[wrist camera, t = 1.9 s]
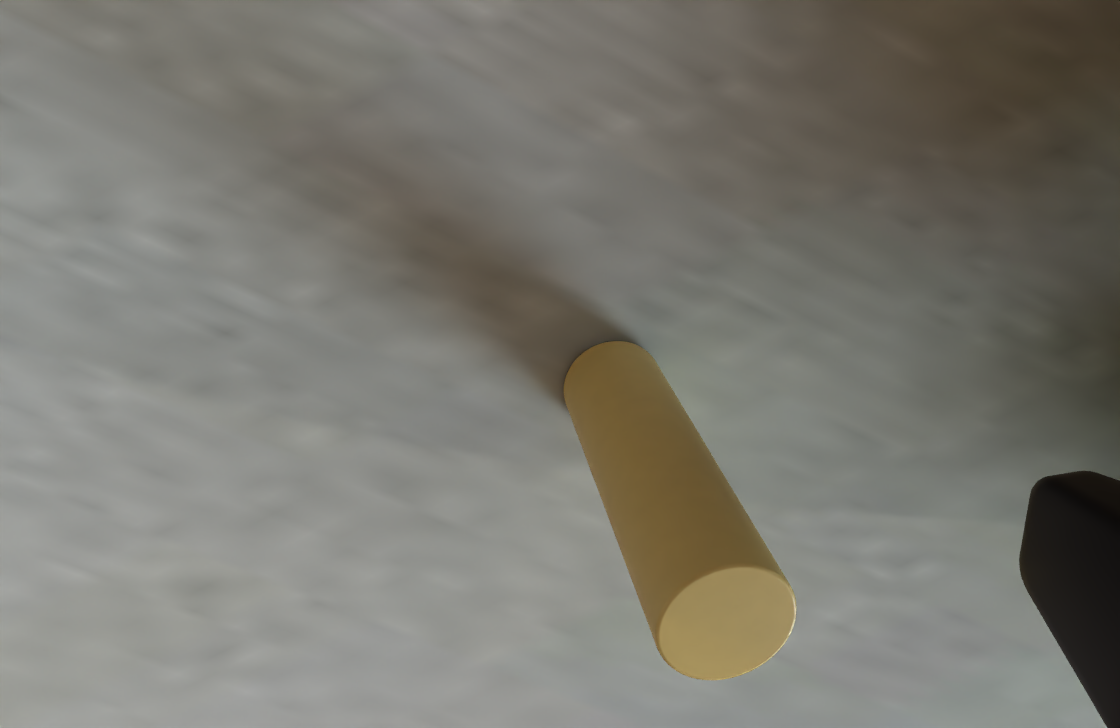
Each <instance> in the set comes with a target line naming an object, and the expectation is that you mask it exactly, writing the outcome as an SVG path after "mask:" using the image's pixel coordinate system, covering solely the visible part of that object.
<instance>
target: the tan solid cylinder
mask: <svg viewBox="0 0 1120 728" xmlns="http://www.w3.org/2000/svg"><path fill="white" fill-rule="evenodd" d="M564 399H565V402H566V405H567V408H568V411H569V413H570V416H571V419H572V421H573V424H574V427H575V429H576V432H577V435H578V437H579V440H580V443H581V445H582V448H583V451H584V453H585V456H586V459H587V461H588V464H589V467H590V469H591V472H592V475H593V477H594V480H595V483H596V485H597V488H598V491H599V493H600V496H601V499H602V501H603V504H604V507H605V509H606V512H607V515H608V518H609V520H610V523H611V526H612V528H613V531H614V534H615V536H616V539H617V542H618V544H619V547H620V550H621V552H622V555H623V558H624V560H625V563H626V566H627V568H628V571H629V574H630V576H631V579H632V582H633V584H634V587H635V590H636V592H637V595H638V598H639V600H640V603H641V606H642V608H643V611H644V614H645V616H646V619H647V622H648V624H649V627H650V630H651V632H652V635H653V638H654V641H655V643H656V646H657V648H658V651H659V653H660V655H661V656H662V658H663V659H664V660H665V661H666V662H667V664H668V665H670V666H671V667H672V668H673V669H675V670H676V671H678V672H680V673H681V674H683V675H686V676H689V677H692V678H696V679H702V680H721V679H728V678H733V677H736V676H739V675H742V674H745V673H747V672H750V671H752V670H754V669H755V668H757V667H759V666H761V665H762V664H764V663H765V662H766V661H768V660H769V659H770V658H771V657H773V656H774V655H775V654H776V653H777V652H778V651H779V650H780V649H781V647H782V646H783V645H784V644H785V642H786V641H787V639H788V637H789V636H790V634H791V631H792V629H793V626H794V623H795V619H796V599H795V595H794V592H793V590H792V588H791V586H790V584H789V583H788V581H787V579H786V578H785V576H784V574H783V573H782V571H781V569H780V568H779V566H778V564H777V563H776V561H775V559H774V558H773V556H772V554H771V553H770V551H769V549H768V548H767V546H766V544H765V543H764V541H763V539H762V538H761V536H760V534H759V533H758V531H757V529H756V528H755V526H754V524H753V523H752V521H751V519H750V518H749V516H748V514H747V513H746V511H745V510H744V508H743V506H742V505H741V503H740V501H739V500H738V498H737V496H736V495H735V493H734V491H733V490H732V488H731V486H730V485H729V483H728V481H727V480H726V478H725V476H724V475H723V473H722V471H721V470H720V468H719V466H718V465H717V463H716V461H715V460H714V458H713V456H712V455H711V453H710V451H709V450H708V448H707V446H706V445H705V443H704V441H703V440H702V438H701V436H700V435H699V433H698V431H697V430H696V428H695V426H694V425H693V423H692V421H691V420H690V418H689V416H688V415H687V413H686V411H685V410H684V408H683V406H682V405H681V403H680V401H679V400H678V398H677V396H676V395H675V393H674V391H673V390H672V388H671V386H670V385H669V383H668V382H667V380H666V378H665V377H664V375H663V373H662V372H661V370H660V368H659V367H658V365H657V363H656V362H655V360H654V359H653V357H652V356H651V355H650V354H649V353H648V352H647V351H646V350H644V349H643V348H641V347H640V346H638V345H635V344H632V343H629V342H623V341H610V342H605V343H601V344H598V345H596V346H593V347H591V348H590V349H588V350H586V351H585V352H584V353H582V354H581V355H580V356H579V357H578V358H577V359H576V360H575V361H574V362H573V364H572V365H571V367H570V369H569V371H568V373H567V375H566V378H565V382H564Z"/></svg>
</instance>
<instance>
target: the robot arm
mask: <svg viewBox="0 0 1120 728" xmlns="http://www.w3.org/2000/svg"><path fill="white" fill-rule="evenodd" d="M1019 563H1020V572H1021V577H1022V580H1023V582H1024V585H1025V587H1026V589H1027V591H1028V593H1029V595H1030V597H1031V598H1032V600H1033V602H1034V603H1035V605H1036V607H1037V609H1038V610H1039V612H1040V614H1041V615H1042V617H1043V619H1044V620H1045V622H1046V624H1047V626H1048V627H1049V629H1050V631H1051V632H1052V634H1053V636H1054V638H1055V639H1056V641H1057V643H1058V644H1059V646H1060V648H1061V649H1062V651H1063V653H1064V655H1065V656H1066V658H1067V660H1068V661H1069V663H1070V665H1071V667H1072V668H1073V670H1074V672H1075V673H1076V675H1077V677H1078V678H1079V680H1080V682H1081V684H1082V685H1083V687H1084V689H1085V690H1086V692H1087V694H1088V696H1089V697H1090V699H1091V701H1092V702H1093V704H1094V706H1095V707H1096V709H1097V711H1098V713H1099V714H1100V716H1101V718H1102V719H1103V721H1104V723H1105V724H1106V726H1107V728H1120V481H1119V480H1116V479H1113V478H1110V477H1107V476H1104V475H1102V474H1099V473H1095V472H1092V471H1077V472H1071V473H1065V474H1059V475H1053V476H1047V477H1044V478H1042V479H1040V480H1039V481H1037V482H1036V484H1035V485H1034V487H1033V488H1032V490H1031V494H1030V499H1029V505H1028V510H1027V516H1026V522H1025V528H1024V533H1023V539H1022V545H1021V551H1020V558H1019Z"/></svg>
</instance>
